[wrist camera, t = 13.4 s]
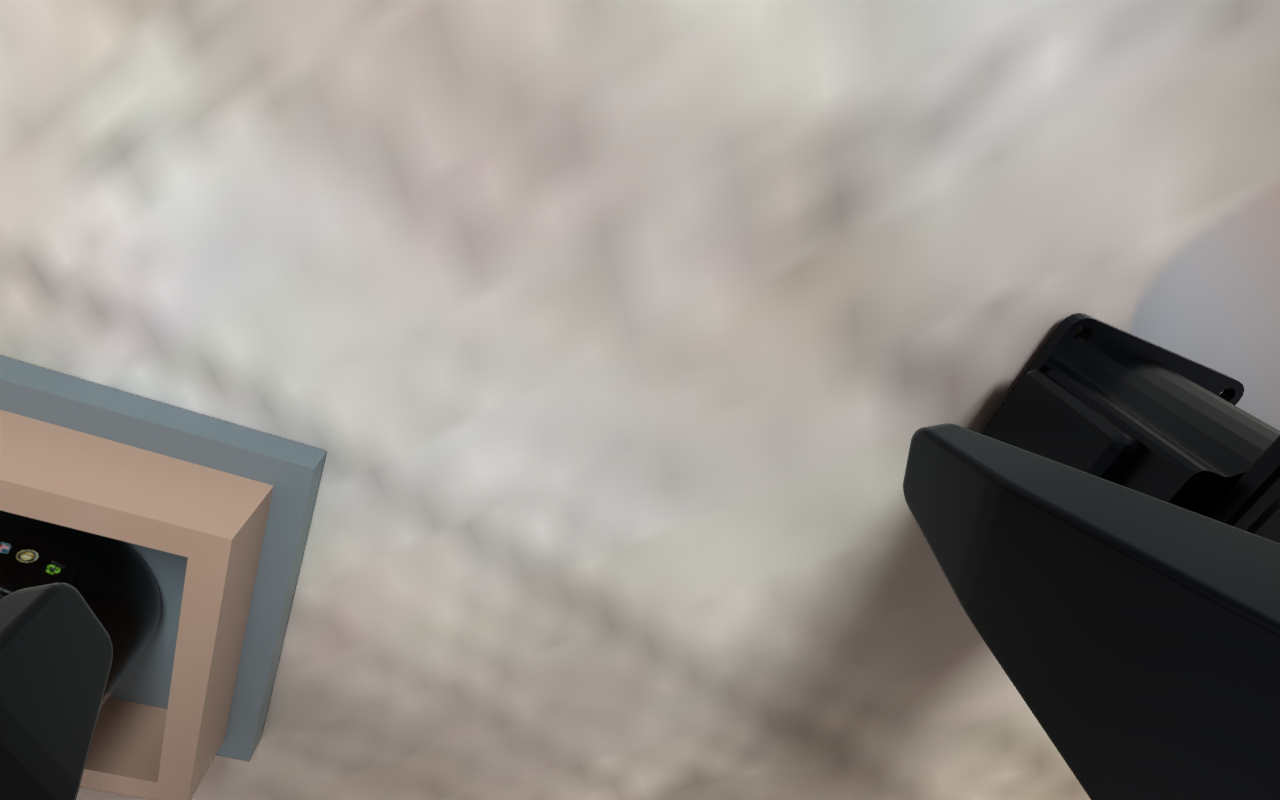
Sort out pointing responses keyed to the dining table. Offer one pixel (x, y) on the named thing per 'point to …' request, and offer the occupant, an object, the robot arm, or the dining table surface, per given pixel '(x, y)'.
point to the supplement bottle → (85, 581)
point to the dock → (169, 560)
